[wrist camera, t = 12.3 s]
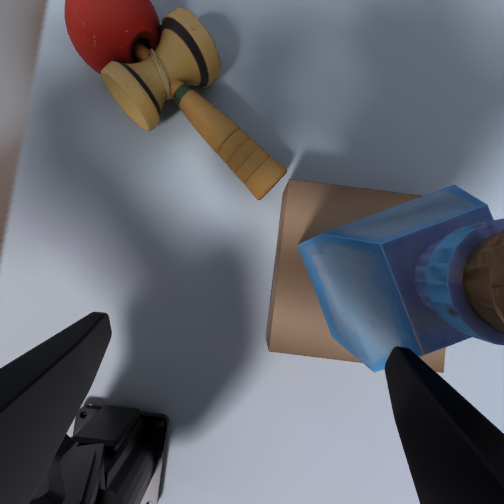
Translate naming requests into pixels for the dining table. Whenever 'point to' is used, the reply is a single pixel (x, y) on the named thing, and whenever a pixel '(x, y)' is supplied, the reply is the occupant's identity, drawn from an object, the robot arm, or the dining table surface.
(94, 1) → the kendama
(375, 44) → the dining table surface
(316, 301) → the walnut plinth
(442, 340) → the perfume bottle
